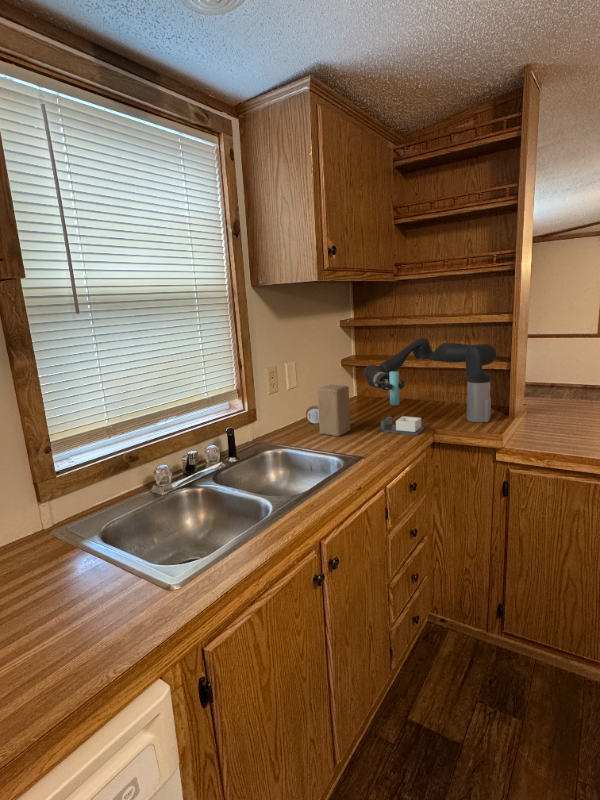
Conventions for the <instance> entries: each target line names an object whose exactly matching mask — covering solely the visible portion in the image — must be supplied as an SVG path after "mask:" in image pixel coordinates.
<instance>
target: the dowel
mask: <svg viewBox="0 0 600 800" xmlns="http://www.w3.org/2000/svg"><path fill="white" fill-rule="evenodd" d="M389 379H390V384H392V390H389V405H391V406H399V405H400V388H399V381H400V372H399V370H397V371H391V372H389Z"/></svg>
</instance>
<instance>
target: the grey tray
mask: <svg viewBox="0 0 600 800" xmlns="http://www.w3.org/2000/svg"><path fill="white" fill-rule="evenodd" d="M424 430H425V427H422V426H421V428H419V429H418V430H417V431H416V432H410V431H400V430H396V424H393V417H392V416H386V418H384V419H382V420H381V421H380V432H381V433H388V432H392V433H391V434H398V433H401V435H408V436H410V435H411V436H418V435H420V434H421V433H422V432H423V431H424Z"/></svg>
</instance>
